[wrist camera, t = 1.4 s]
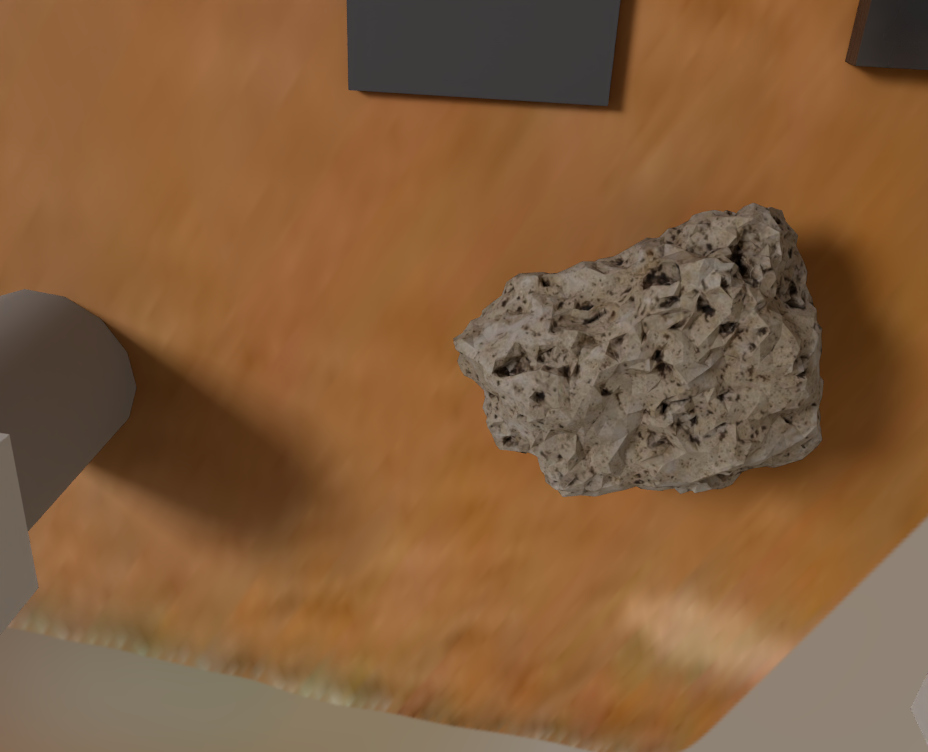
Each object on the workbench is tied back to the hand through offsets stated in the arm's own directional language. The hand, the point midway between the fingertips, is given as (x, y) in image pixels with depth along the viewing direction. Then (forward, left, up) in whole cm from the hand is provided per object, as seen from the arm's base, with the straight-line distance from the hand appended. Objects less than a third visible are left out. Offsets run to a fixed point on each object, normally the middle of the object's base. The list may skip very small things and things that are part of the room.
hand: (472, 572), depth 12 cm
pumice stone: (+7, +5, -25) cm, 27 cm away
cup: (+12, -22, -25) cm, 36 cm away
